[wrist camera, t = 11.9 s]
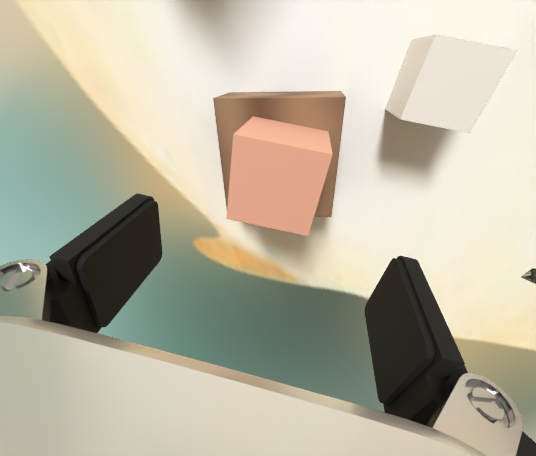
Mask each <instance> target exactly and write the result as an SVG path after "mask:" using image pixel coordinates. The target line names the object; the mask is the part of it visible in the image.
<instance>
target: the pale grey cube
mask: <svg viewBox="0 0 536 456" xmlns="http://www.w3.org/2000/svg"><path fill="white" fill-rule="evenodd" d="M516 52H517V50H515V49H510V48H504V47H499V46H494V45H488V44H483V43H478V42H472V41H467V40H462V39H456V38H451V37H445V36H440V35H432V36H427V37H423V38H419V39H414V40H411V43H410V45H409V48H408V51H407V53H406V56H405V59H404V61H403V64H402V66H401V69H400V72H399V74H398V77H397V80H396V82H395V85H394V88H393V90H392V93H391V95H390V98H389V101H388V103H387V106H386V110H387V111H389V112H390V113H392V114H393V115H395V116H396V117H397V118H399V119H401V120H406V121H411V122H415V123H420V124H425V125H430V126H435V127H440V128H445V129H450V130H455V131H460V132H465V133H470V132H471V130H472V129H473V127H474V125H475V123H476V122H477V120H478V118H479V116H480V115H481V113H482V111H483V110H484V108H485V106H486V104H487V103H488V101H489V99H490V97H491V96H492V94H493V92H494V90H495V89H496V87H497V85H498V83H499V82H500V80H501V78H502V76H503V75H504V73H505V71H506V69H507V68H508V66H509V64H510V63H511V61H512V59H513V57H514V56H515V54H516Z"/></svg>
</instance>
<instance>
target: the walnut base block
mask: <svg viewBox="0 0 536 456" xmlns="http://www.w3.org/2000/svg"><path fill="white" fill-rule="evenodd" d="M345 99H346V97H345V96H344V95H343V93H342V92H341V91H313V92H232V93H227V94H224V95H222V96H219V97H216V98H213V100H214V108H215V116H216V124H217V133H218V141H219V149H220V157H221V165H222V174H223V182H224V190H225V198H226V206H228V194H229V182H230V169H231V157H232V144H233V134H234V133H235V132H236V131H237V130H239V129H240V128H241V127H242V126H243V125H244V124H245V123H246V122H247V121H249V120H250V119H251V118H252V117H253V116H254V117H259V118H264V119H269V120H274V121H279V122H284V123H289V124H294V125H299V126H304V127H309V128H314V129H319V130H324V131H328V132H329V137H330V143H331V148H332V154H333V155H332V158H331V162H330V165H329V168H328V172H327V175H326V178H325V182H324V185H323V188H322V192H321V195H320V198H319V202H318V205H317V208H316V212H315V215H314V216H319V217H331V215H332V207H333V198H334V190H335V182H336V174H337V165H338V157H339V149H340V141H341V132H342V124H343V116H344V108H345Z"/></svg>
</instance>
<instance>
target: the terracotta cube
mask: <svg viewBox="0 0 536 456" xmlns="http://www.w3.org/2000/svg"><path fill="white" fill-rule="evenodd" d="M332 155H333V154H332V148H331V143H330V137H329V132H328V131H324V130H319V129H314V128H309V127H304V126H299V125H294V124H289V123H284V122H279V121H274V120H269V119H264V118H259V117H254V116H253V117H252V118H251V119H250V120H249V121H247V122H246V123H245V124H244V125H243V126H242V127H241V128H240V129H239V130H237V131H236V132H235V133H234V134H233V144H232V157H231V169H230V182H229V194H228V206H227V219H230V220H235V221H239V222H244V223H249V224H253V225H258V226H262V227H267V228H272V229H276V230H281V231H286V232H290V233H295V234H299V235H304V236H308V235H309V232H310V228H311V225H312V222H313V218H314V215H315V212H316V208H317V205H318V202H319V198H320V195H321V192H322V188H323V185H324V182H325V178H326V175H327V172H328V168H329V165H330V162H331V158H332Z"/></svg>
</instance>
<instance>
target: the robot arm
mask: <svg viewBox="0 0 536 456" xmlns="http://www.w3.org/2000/svg"><path fill="white" fill-rule="evenodd" d="M161 257H162V245H161V234H160V223H159V212H158V204H157V202H155V201H154V199H153V197H150V196H146V195H142V194H136V195H134V196H133V197H131V198H130V199H128V200H127V201H125V202H124V203H123V204H122V205H120V206H119V207H117V208H116V209H114V210H113V211H112V212H110V213H109V214H108V215H106V216H105V217H103V218H102V219H101V220H99V221H98V222H96V223H95V224H94V225H92V226H91V227H90V228H88V229H87V230H85V231H84V232H83V233H81V234H80V235H79V236H77V237H76V238H74V239H73V240H72V241H70V242H69V243H68V244H66V245H65V246H63V247H62V248H61V249H59V250H58V251H56V252H55V253H54V254H52V255H51V256H50V259H51V261H50V262H48V263H47V264H46V265H45V264H44V263H43V262H41V261H39V260H32V259H25V260H17V261H13V262H9V263H7V264H4V265H2V266H0V456H536V443H535V442H534V441H533V440H532V439H531V438H529V437H528V436H527V435H526V434H525V433H524V432H523V431H522V430H523V420H522V417H521V415H520V412H519V410H518V409H517V407H516V406H515V404H514V402H513V401H512V400H511V398H510V397H509V396H508V395H507V394H506V393H505V392H504V391H503V390H502V389H501V388H500V387H499V386H498V385H496V384H495V383H493V382H492V381H490V380H489V379H487V378H485V377H483V376H481V375H479V374H473V373H468V372H467V370H466V368H465V365H464V364H465V363H464V361H463V359H462V356H461V354H460V352H459V350H458V348H457V346H456V344H455V341H454V339H453V337H452V335H451V332H450V330H449V328H448V326H447V324H446V321H445V319H444V317H443V315H442V313H441V311H440V308H439V306H438V304H437V302H436V300H435V297H434V295H433V293H432V291H431V289H430V287H429V284H428V282H427V280H426V278H425V276H424V274H423V271H422V269H421V267H420V265H419V263H418V261H417V260H416V259H412V258H408V257H404V256H399V257H397V259H396V258H393V259H392V260H391V262H390V263H389V265H388V267H387V269H386V270H385V272H384V274H383V276H382V277H381V279H380V281H379V283H378V284H377V286H376V288H375V290H374V291H373V293H372V295H371V297H370V298H369V300H368V302H367V304H366V306H365V317H366V324H367V330H368V336H369V343H370V349H371V355H372V362H373V368H374V374H375V381H376V387H377V393H378V399H379V401H380V402H381V403H383V404H384V410H385V413H384V412H381V411H377V410H374V409H371V408H367V407H364V406H361V405H357V404H354V403H351V402H346V401H343V400H340V399H336V398H332V397H329V396H325V395H322V394H318V393H314V392H311V391H307V390H304V389H300V388H297V387H293V386H289V385H286V384H282V383H279V382H275V381H272V380H268V379H264V378H261V377H257V376H253V375H250V374H246V373H242V372H239V371H235V370H231V369H228V368H224V367H220V366H217V365H213V364H209V363H206V362H202V361H198V360H195V359H191V358H187V357H184V356H180V355H176V354H172V353H169V352H165V351H161V350H158V349H154V348H150V347H146V346H143V345H139V344H135V343H132V342H128V341H124V340H120V339H117V338H113V337H109V336H105V335H102V334H97V332H98V331H99V330H100V329H101V327H106V326H107V325H108V324H109V323H110V322H111V321H112V319H113V318H114V317H115V316H116V314H117V313H118V312H119V311H120V310H121V308H122V307H123V306H124V305H125V303H126V302H127V301H128V300H129V298H130V297H131V296H132V295H133V293H134V292H135V291H136V290H137V288H138V287H139V286H140V285H141V283H142V282H143V281H144V280H145V279H146V277H147V276H148V275H149V274H150V272H151V271H152V270H153V269H154V268H155V266H156V265H157V264H158V263H159V261H160V259H161Z"/></svg>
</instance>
